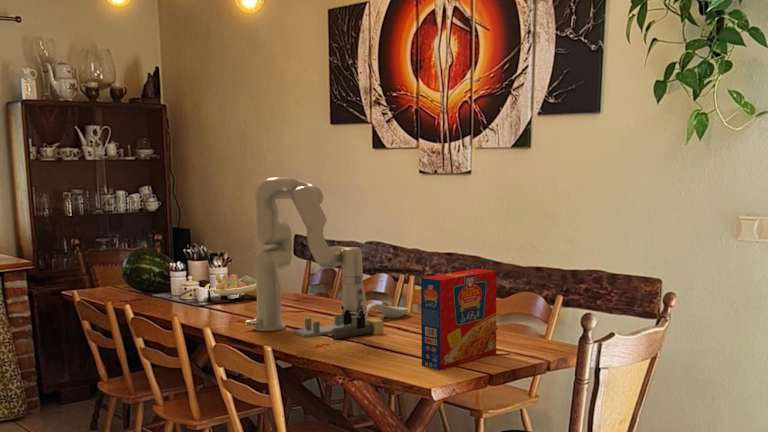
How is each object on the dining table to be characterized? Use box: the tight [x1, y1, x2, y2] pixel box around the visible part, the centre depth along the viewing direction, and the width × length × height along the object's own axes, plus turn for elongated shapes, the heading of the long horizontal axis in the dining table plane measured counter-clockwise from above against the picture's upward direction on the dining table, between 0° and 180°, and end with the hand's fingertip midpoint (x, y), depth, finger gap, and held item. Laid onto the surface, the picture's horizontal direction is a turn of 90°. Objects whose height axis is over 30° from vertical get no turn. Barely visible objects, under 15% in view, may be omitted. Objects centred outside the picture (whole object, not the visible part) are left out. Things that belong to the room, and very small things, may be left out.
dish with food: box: [203, 273, 256, 297], centre depth 336 cm, size 28×28×14 cm
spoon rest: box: [365, 302, 409, 324], centre depth 287 cm, size 24×12×7 cm, turn 133°
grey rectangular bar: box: [331, 318, 384, 340], centre depth 256 cm, size 20×5×5 cm, turn 123°
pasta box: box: [420, 268, 497, 371], centre depth 221 cm, size 28×8×28 cm, turn 134°
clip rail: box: [293, 312, 367, 338], centre depth 265 cm, size 27×9×5 cm, turn 123°
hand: (354, 326), depth 254 cm, fingers open, 9 cm apart
